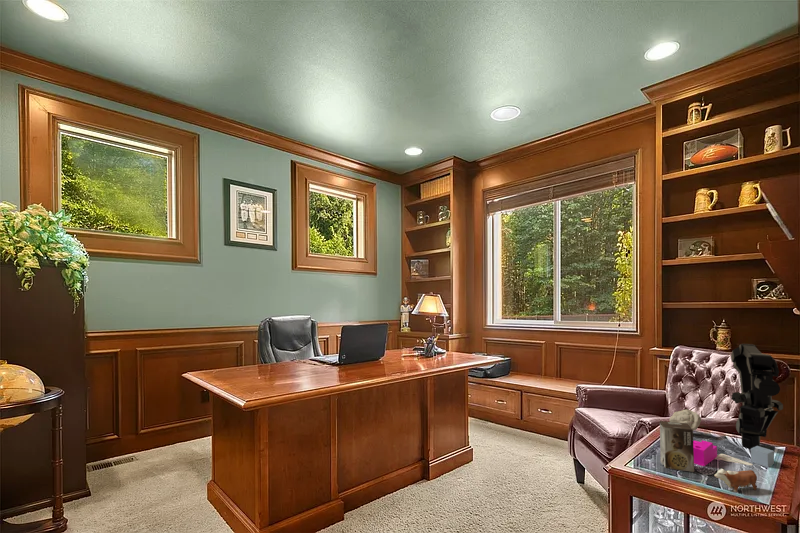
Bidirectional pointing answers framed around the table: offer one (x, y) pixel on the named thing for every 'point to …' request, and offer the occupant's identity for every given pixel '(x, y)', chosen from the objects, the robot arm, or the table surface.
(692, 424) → the fossil replica
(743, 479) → the bull figurine
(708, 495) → the table surface
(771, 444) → the table surface
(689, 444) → the beige tall box
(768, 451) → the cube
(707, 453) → the toy block
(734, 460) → the letter
